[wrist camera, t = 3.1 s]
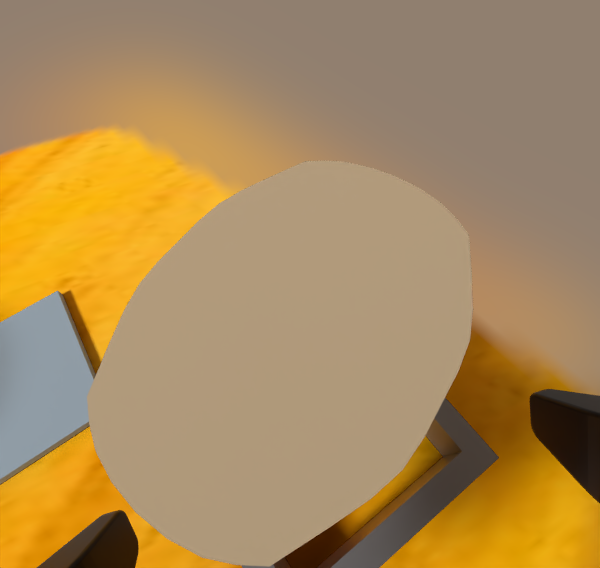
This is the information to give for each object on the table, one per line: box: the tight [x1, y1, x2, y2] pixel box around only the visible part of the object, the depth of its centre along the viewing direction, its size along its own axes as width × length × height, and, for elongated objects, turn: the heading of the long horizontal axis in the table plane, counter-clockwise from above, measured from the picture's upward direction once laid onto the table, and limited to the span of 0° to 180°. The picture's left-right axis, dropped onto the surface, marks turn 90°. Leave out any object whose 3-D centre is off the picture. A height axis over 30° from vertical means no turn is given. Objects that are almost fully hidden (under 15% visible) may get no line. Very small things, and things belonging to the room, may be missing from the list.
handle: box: [87, 161, 473, 567], centre depth 12 cm, size 5×6×15 cm
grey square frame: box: [242, 398, 499, 568], centre depth 17 cm, size 10×10×3 cm
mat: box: [0, 291, 96, 484], centre depth 21 cm, size 9×9×1 cm
